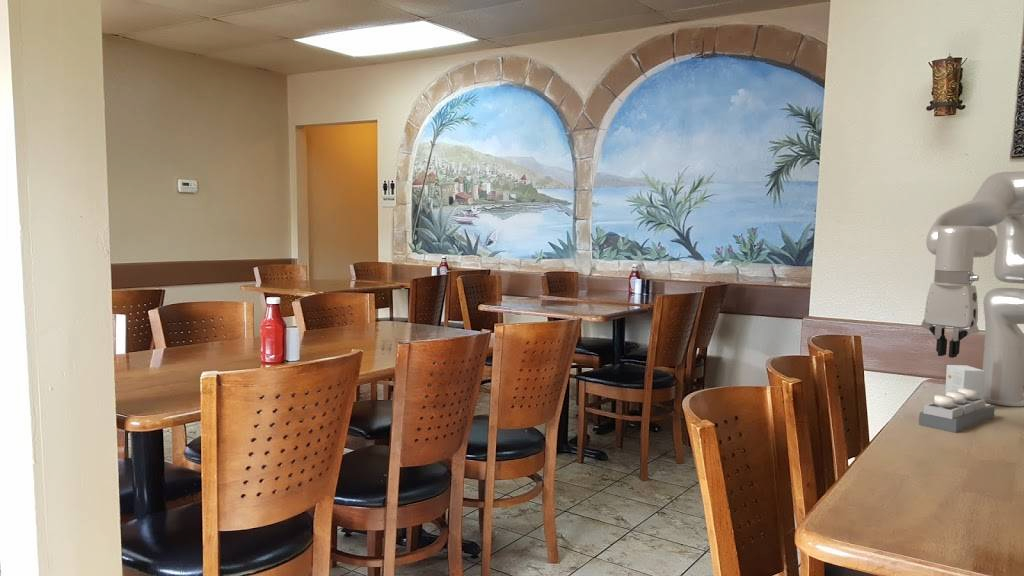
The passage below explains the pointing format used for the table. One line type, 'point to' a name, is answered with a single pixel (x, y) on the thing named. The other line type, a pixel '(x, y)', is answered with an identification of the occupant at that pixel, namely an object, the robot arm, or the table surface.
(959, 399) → the button middle
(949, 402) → the button
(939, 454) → the table surface
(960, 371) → the small box
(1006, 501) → the table surface
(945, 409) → the button board
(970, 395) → the button
